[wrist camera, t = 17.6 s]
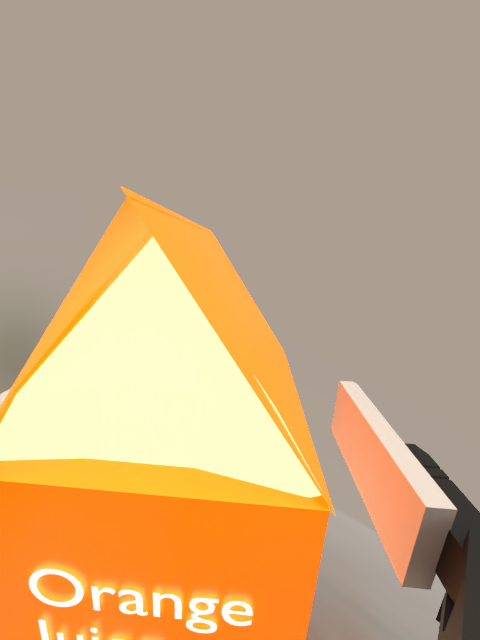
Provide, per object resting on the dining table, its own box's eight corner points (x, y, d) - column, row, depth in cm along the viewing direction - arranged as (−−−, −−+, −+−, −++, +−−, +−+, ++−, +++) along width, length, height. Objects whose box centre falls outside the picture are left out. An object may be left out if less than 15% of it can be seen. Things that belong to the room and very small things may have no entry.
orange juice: (38, 831, 9) (-148, 169, 4) (143, 546, 17) (129, 226, 12) (271, 863, 9) (406, 198, 4) (262, 558, 17) (297, 236, 12)
